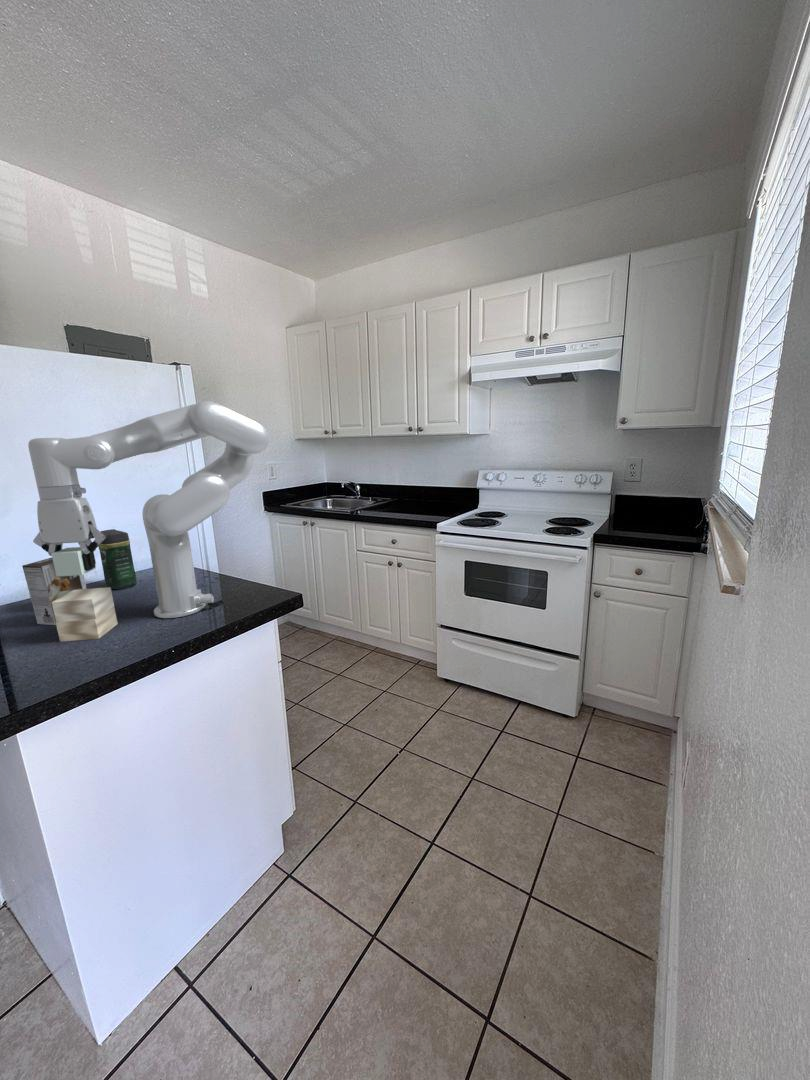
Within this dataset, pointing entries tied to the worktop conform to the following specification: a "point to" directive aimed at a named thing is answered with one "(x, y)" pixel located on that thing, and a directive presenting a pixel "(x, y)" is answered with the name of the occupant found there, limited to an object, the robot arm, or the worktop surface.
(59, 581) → the coffee box
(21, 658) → the worktop surface
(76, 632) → the birch base block
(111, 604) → the maple top block
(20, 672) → the worktop surface
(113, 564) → the coffee jar
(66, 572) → the sage block
